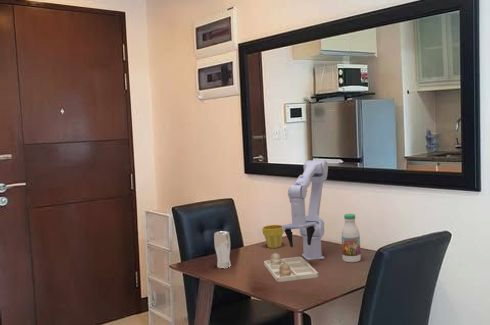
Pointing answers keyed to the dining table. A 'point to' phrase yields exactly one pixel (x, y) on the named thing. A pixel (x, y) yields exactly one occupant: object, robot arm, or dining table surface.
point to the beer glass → (222, 248)
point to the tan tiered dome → (284, 270)
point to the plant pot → (273, 235)
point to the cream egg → (275, 259)
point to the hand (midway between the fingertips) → (300, 245)
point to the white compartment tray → (292, 269)
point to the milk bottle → (350, 240)
